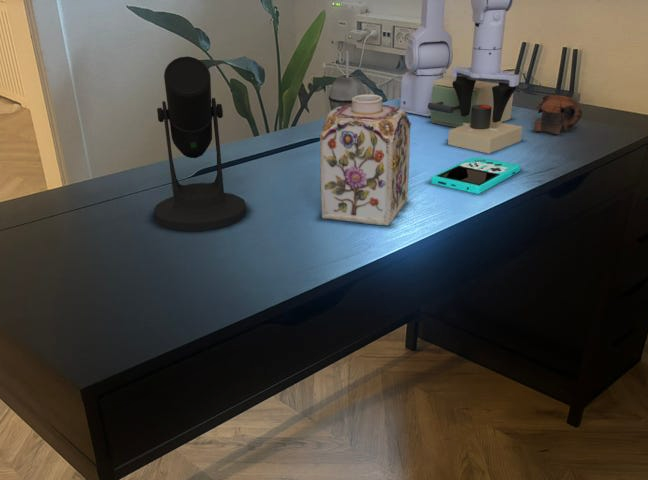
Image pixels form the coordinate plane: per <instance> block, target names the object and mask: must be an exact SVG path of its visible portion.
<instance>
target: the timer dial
mask: <svg viewBox="0 0 648 480" xmlns="http://www.w3.org/2000/svg"><path fill="white" fill-rule="evenodd" d="M491 109H492V107H491V106H488V105H474V106H472V110H471V121H470V127H471V128H474V129H488V128H489V127H490V119H491Z"/></svg>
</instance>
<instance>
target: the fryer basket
mask: <svg viewBox="0 0 648 480" xmlns="http://www.w3.org/2000/svg"><path fill="white" fill-rule="evenodd" d="M476 97H477V91H473V93H472V99H471V109H470V114H469V115H467V116H464V117H463V116H461V111H460V105H459V100H458V97H457V94H456V91H455V89H454V88H453V87H447V86H437V85H435V86H433V88H432V103H429V104H428V109H430V110H431V116H430V120H435V121H440V122H445V123H450V124H455V125H460V126H463V125H466V124H463V123H467V124H468V123H470V121H471V110H472V106H474V105H476Z"/></svg>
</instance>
